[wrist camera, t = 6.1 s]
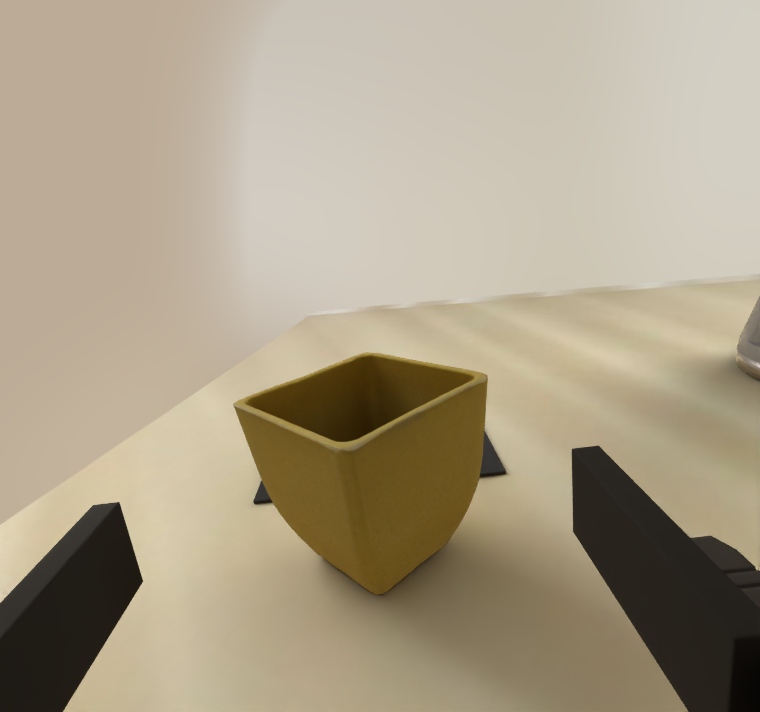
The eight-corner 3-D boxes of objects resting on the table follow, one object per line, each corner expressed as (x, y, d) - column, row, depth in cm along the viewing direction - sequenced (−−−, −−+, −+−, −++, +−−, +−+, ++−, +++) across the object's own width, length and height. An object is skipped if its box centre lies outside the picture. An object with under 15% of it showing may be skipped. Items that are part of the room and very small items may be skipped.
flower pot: (374, 653, 20) (343, 448, 17) (263, 559, 26) (228, 400, 24) (502, 540, 25) (492, 373, 23) (385, 486, 32) (367, 350, 29)
